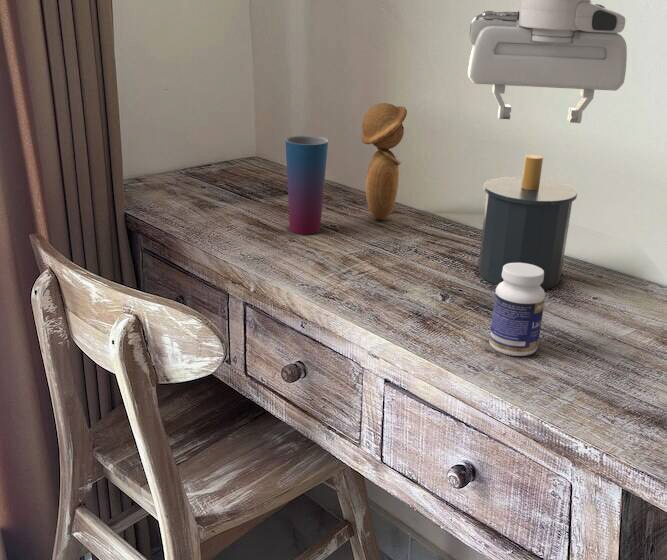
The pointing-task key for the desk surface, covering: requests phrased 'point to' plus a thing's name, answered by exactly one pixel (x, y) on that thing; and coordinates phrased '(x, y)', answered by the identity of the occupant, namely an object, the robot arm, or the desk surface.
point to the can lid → (530, 186)
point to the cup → (305, 182)
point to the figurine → (383, 156)
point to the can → (523, 238)
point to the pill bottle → (518, 310)
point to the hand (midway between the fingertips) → (538, 120)
